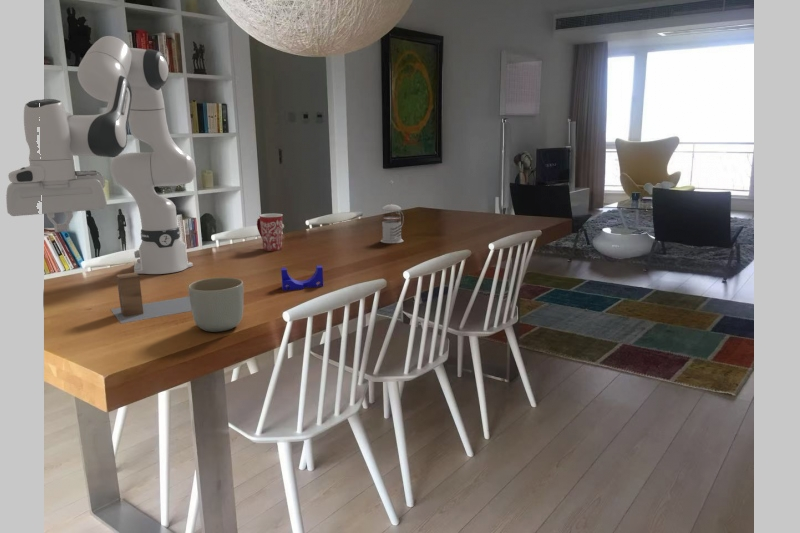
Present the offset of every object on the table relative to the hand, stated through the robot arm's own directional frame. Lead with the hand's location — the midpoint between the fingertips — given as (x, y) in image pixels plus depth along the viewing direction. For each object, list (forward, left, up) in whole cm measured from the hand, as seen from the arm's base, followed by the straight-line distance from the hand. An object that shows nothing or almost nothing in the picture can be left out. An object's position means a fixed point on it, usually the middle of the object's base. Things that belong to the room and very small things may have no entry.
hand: (62, 231), depth 138 cm
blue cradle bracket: (+2, +60, -24) cm, 65 cm away
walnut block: (0, +13, -23) cm, 26 cm away
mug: (-58, +75, -23) cm, 98 cm away
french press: (-42, +123, -23) cm, 132 cm away
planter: (+23, +28, -23) cm, 43 cm away
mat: (0, +20, -23) cm, 30 cm away
